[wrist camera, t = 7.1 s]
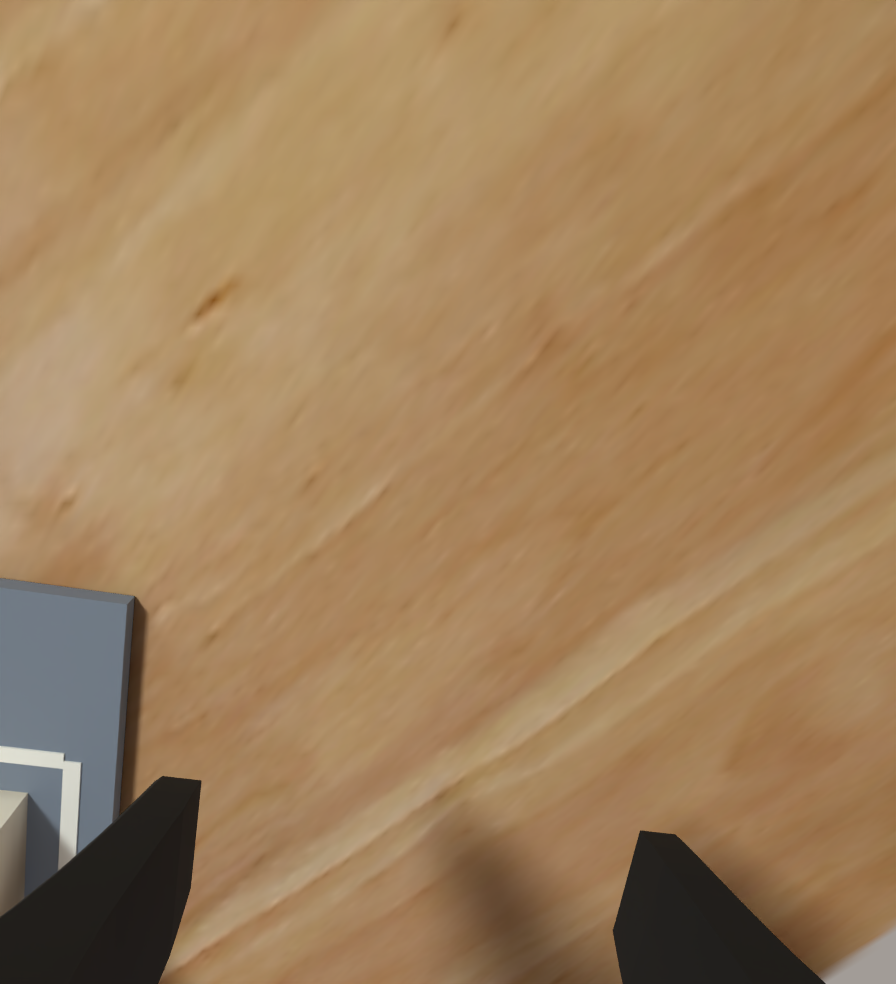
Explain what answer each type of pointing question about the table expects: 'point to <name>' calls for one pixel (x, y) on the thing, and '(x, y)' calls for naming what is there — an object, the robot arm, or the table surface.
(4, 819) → the birch base block
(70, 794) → the board
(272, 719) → the table surface
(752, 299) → the table surface
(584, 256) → the table surface
